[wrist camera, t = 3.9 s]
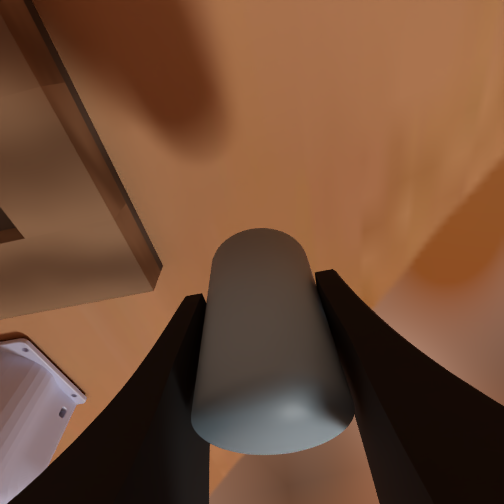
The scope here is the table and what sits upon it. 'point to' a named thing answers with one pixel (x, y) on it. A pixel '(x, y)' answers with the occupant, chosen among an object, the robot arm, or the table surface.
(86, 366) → the table surface
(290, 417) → the slate pin
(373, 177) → the table surface
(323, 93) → the table surface
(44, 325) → the table surface
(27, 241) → the walnut socket block
